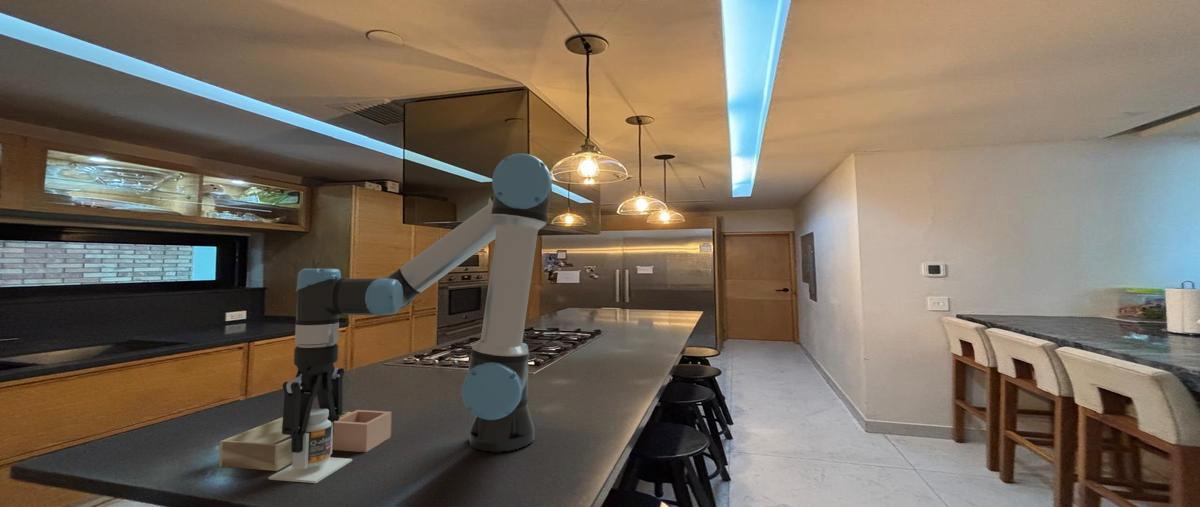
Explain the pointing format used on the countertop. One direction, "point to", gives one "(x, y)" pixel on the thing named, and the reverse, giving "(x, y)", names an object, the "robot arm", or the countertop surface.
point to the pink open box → (361, 430)
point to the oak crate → (258, 448)
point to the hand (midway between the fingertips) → (312, 460)
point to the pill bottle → (319, 437)
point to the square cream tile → (311, 471)
